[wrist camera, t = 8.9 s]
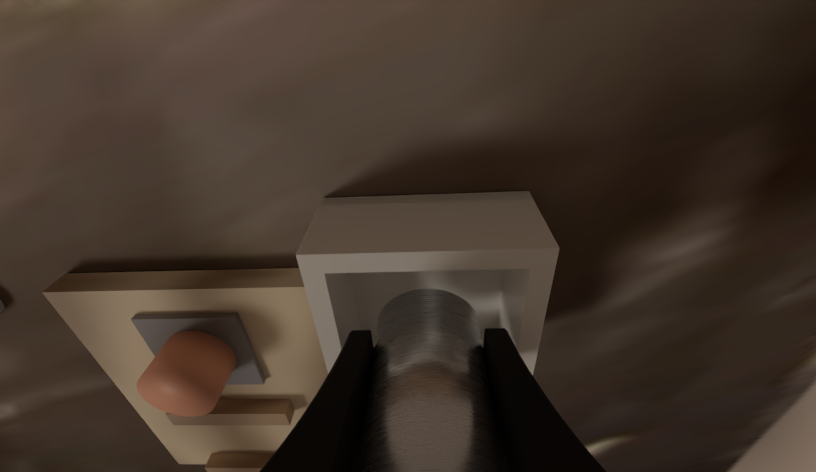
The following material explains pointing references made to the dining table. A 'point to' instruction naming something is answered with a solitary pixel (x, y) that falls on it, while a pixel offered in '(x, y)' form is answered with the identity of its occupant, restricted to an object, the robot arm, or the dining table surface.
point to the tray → (429, 261)
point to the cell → (429, 390)
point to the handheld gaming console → (1, 306)
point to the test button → (187, 374)
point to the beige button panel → (216, 315)
